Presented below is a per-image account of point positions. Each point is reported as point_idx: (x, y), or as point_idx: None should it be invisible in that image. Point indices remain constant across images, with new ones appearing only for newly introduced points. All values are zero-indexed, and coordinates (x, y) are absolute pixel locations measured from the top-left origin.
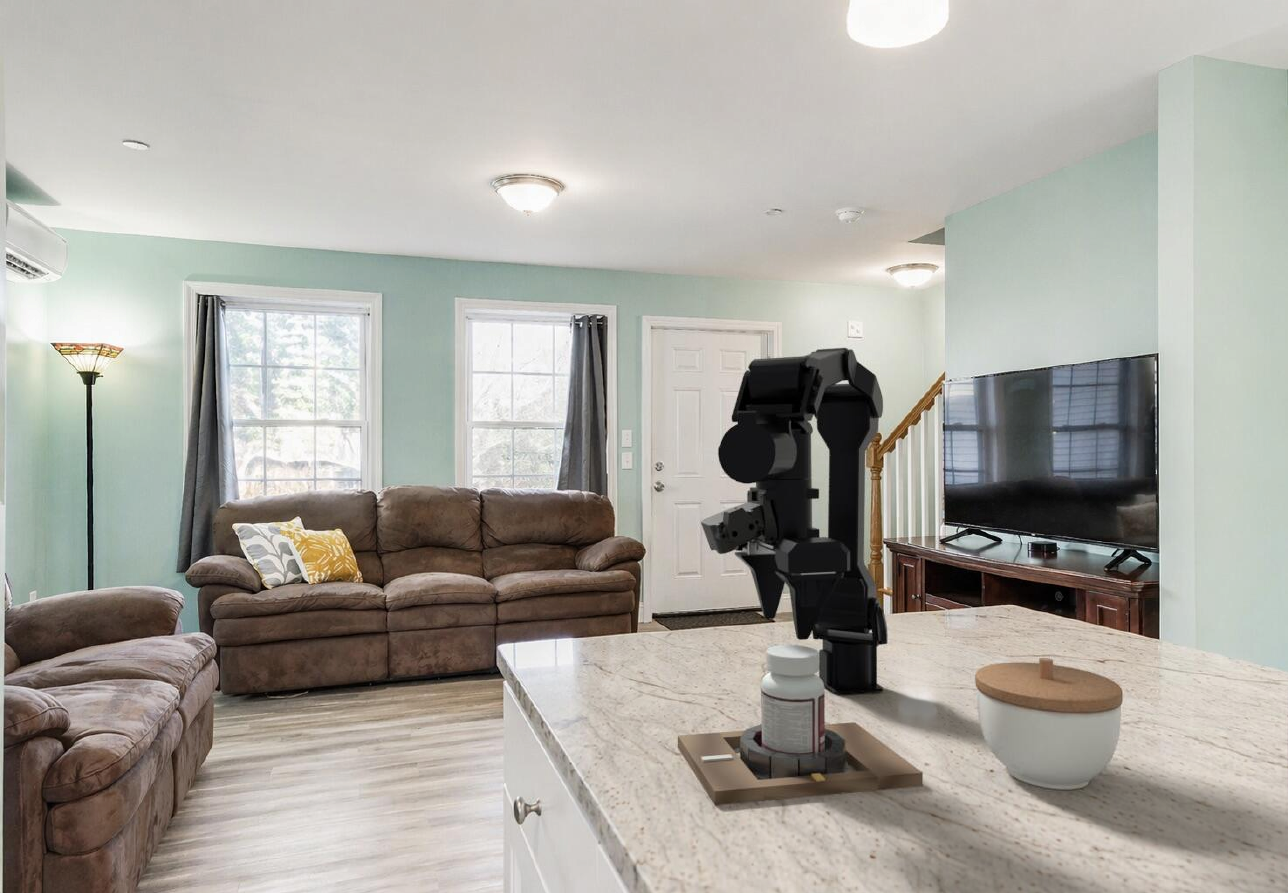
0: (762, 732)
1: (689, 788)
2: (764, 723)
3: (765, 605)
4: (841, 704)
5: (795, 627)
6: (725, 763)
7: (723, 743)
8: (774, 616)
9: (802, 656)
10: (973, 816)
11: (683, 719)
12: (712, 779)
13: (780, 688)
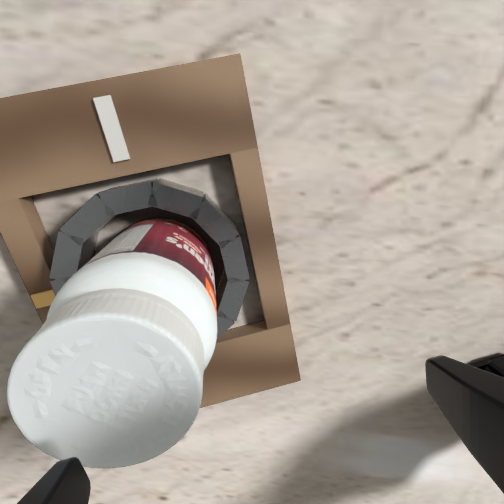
0: (143, 228)
1: (32, 68)
2: (125, 236)
3: (471, 399)
4: (420, 367)
5: (32, 501)
6: (92, 145)
7: (198, 151)
8: (432, 396)
9: (35, 424)
10: (10, 458)
11: (388, 86)
12: (4, 110)
13: (53, 304)
